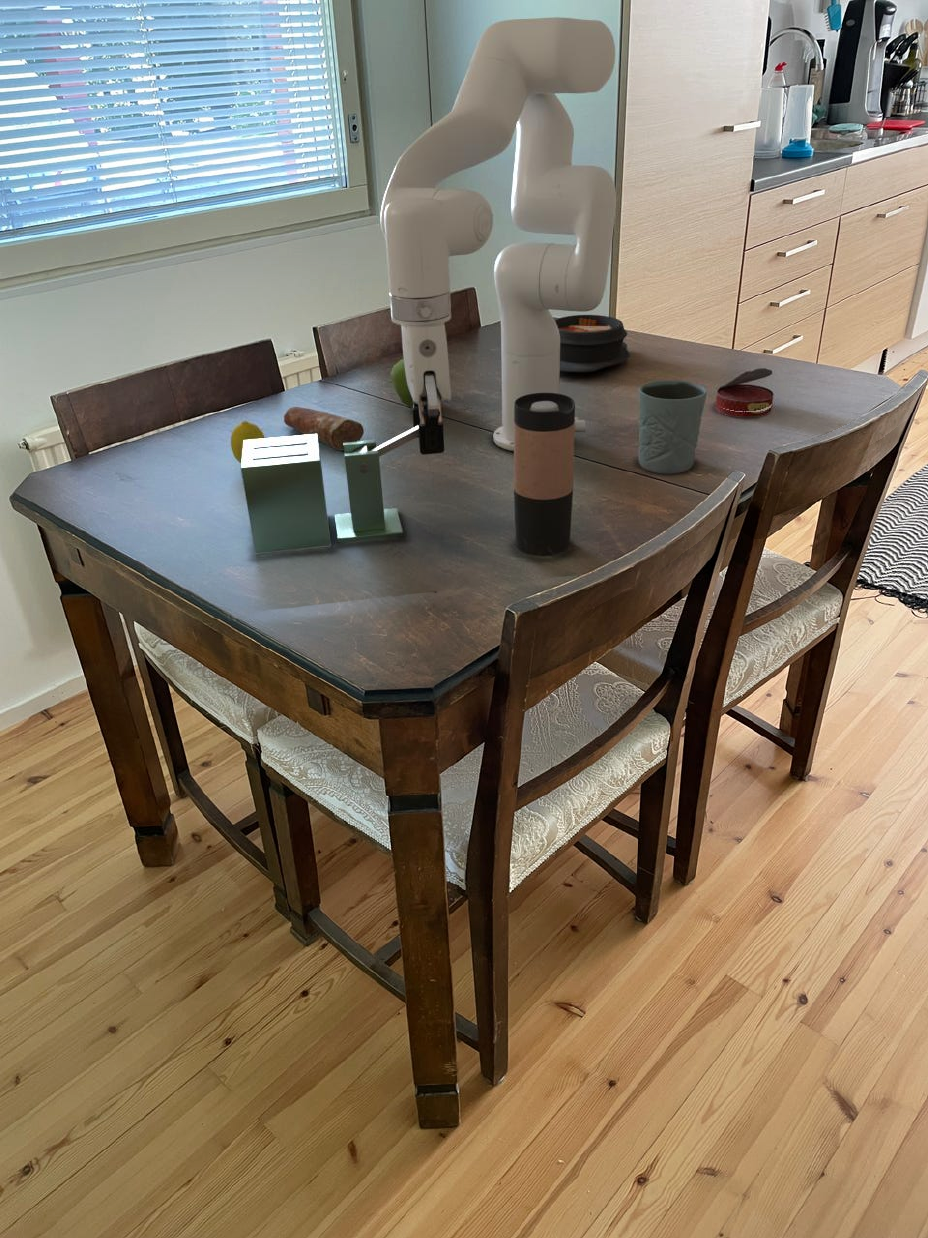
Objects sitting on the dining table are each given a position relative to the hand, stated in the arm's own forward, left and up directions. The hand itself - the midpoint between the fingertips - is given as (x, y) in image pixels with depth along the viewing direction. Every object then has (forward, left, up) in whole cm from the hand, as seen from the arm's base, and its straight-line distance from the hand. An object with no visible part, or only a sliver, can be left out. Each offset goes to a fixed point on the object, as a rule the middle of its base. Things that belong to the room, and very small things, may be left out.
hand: (428, 443), depth 125 cm
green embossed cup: (-35, -23, -12) cm, 43 cm away
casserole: (-23, -78, -12) cm, 82 cm away
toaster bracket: (+9, +2, -12) cm, 15 cm away
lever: (+4, +1, -1) cm, 5 cm away
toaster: (+19, +5, -12) cm, 23 cm away
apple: (+8, -50, -12) cm, 52 cm away
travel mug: (-16, +7, -12) cm, 21 cm away
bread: (+24, -33, -12) cm, 43 cm away
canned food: (-51, -49, -12) cm, 72 cm away
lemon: (+32, -20, -12) cm, 40 cm away
